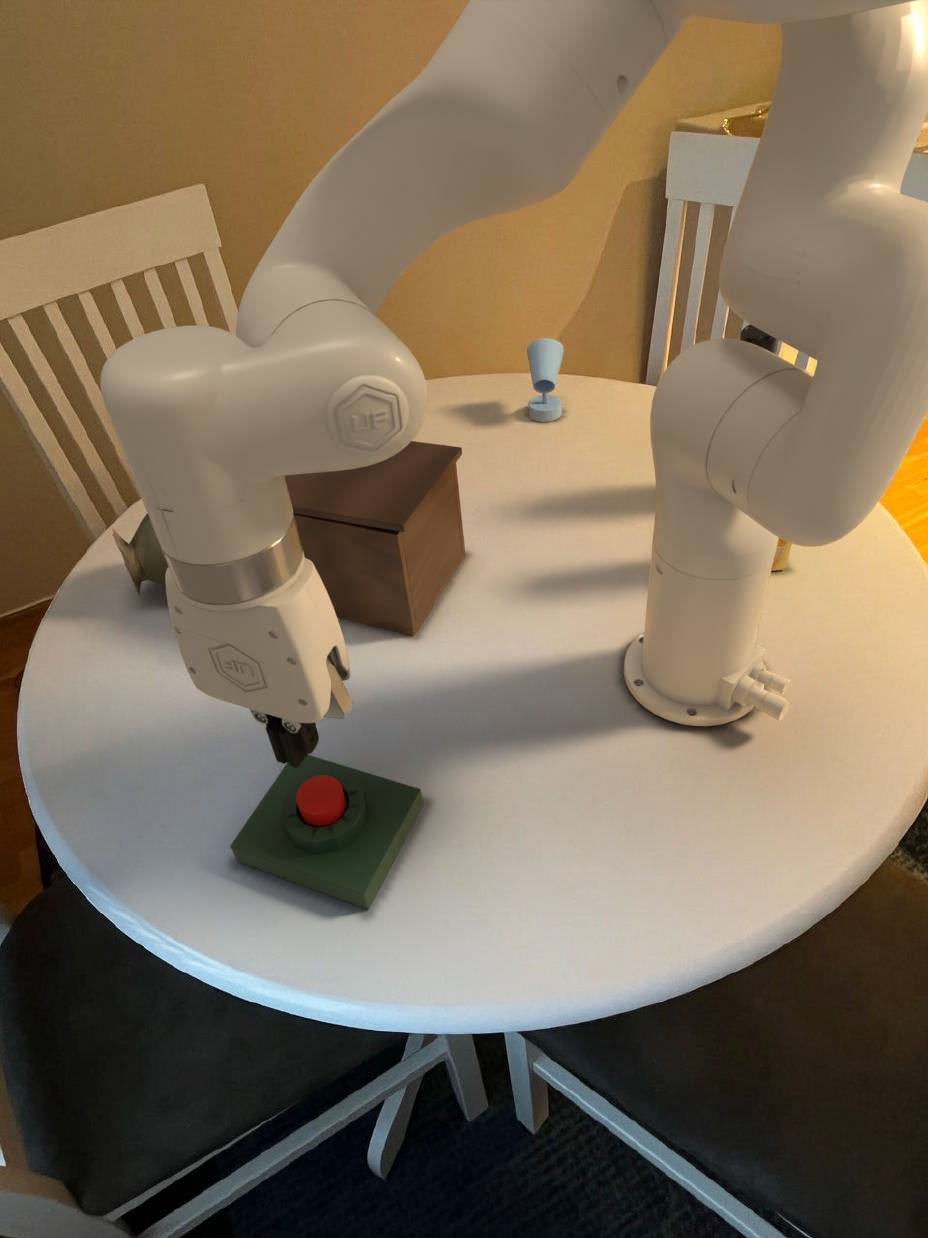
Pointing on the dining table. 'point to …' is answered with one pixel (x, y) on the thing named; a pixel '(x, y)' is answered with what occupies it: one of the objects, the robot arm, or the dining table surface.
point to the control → (331, 832)
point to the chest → (388, 561)
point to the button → (321, 800)
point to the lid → (375, 488)
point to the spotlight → (545, 378)
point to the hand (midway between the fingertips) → (298, 750)
